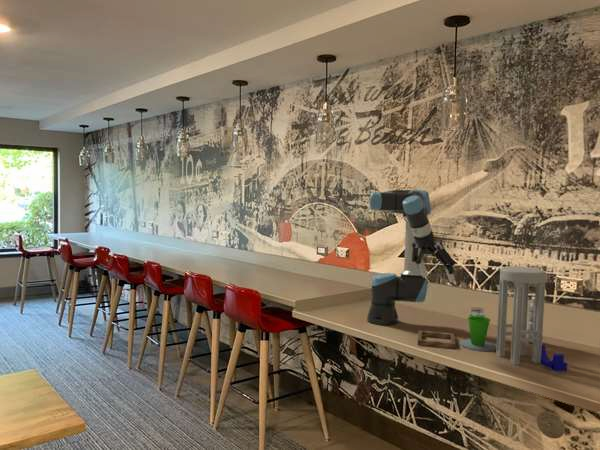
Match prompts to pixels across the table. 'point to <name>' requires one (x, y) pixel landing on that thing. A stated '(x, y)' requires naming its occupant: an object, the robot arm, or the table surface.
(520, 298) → the stool
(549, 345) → the table surface
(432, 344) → the cup holder
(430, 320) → the table surface
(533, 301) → the plastic bottle
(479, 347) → the mat
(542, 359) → the cable clip
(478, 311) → the wineglass
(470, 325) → the cup
